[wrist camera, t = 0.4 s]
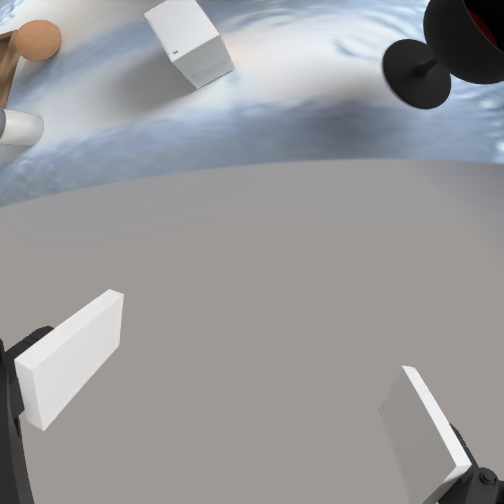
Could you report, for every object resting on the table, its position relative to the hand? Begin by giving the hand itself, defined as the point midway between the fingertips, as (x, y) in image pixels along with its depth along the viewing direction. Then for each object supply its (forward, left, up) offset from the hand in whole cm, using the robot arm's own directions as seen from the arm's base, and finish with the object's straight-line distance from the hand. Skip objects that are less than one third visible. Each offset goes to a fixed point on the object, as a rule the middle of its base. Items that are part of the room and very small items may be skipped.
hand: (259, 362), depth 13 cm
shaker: (-10, -40, -27) cm, 49 cm away
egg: (-24, -40, -27) cm, 54 cm away
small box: (-22, -14, -28) cm, 38 cm away
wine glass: (-27, +14, -27) cm, 41 cm away
